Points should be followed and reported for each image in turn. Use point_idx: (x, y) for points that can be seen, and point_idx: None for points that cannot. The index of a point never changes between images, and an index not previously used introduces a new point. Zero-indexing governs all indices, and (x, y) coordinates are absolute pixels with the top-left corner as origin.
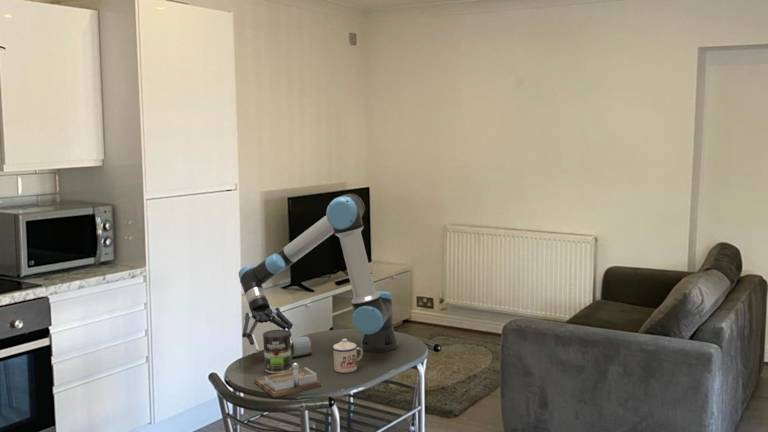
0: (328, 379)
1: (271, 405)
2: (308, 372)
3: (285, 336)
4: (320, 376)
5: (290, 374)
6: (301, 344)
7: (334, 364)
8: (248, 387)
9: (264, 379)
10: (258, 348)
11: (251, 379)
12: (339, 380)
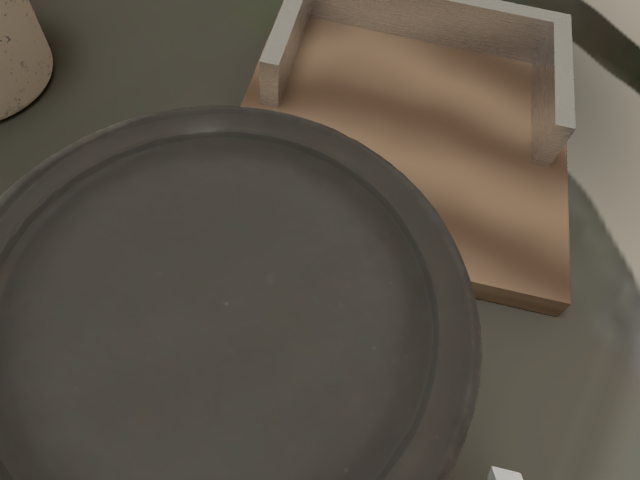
0: (184, 44)
1: (599, 19)
2: (297, 23)
3: (214, 115)
4: (173, 99)
5: None
6: None
7: (20, 69)
8: (624, 275)
9: (515, 236)
10: (496, 474)
11: (550, 397)
12: (161, 2)
